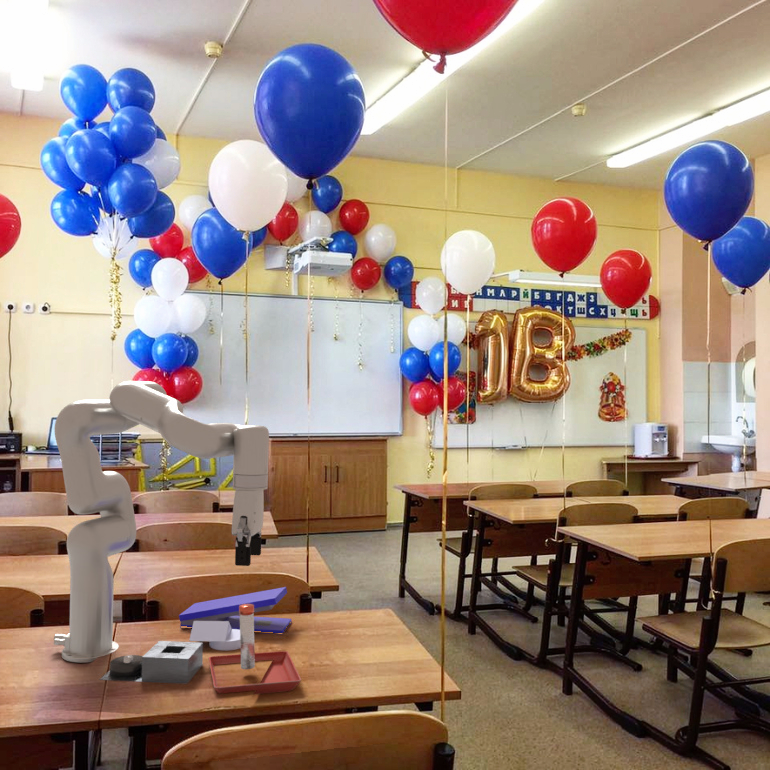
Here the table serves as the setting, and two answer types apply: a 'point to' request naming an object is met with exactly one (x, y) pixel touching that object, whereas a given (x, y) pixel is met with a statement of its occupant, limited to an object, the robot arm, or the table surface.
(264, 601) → the stapler
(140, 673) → the block
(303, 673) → the table surface
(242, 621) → the pin
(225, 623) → the wedge on round base
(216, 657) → the plant saucer
